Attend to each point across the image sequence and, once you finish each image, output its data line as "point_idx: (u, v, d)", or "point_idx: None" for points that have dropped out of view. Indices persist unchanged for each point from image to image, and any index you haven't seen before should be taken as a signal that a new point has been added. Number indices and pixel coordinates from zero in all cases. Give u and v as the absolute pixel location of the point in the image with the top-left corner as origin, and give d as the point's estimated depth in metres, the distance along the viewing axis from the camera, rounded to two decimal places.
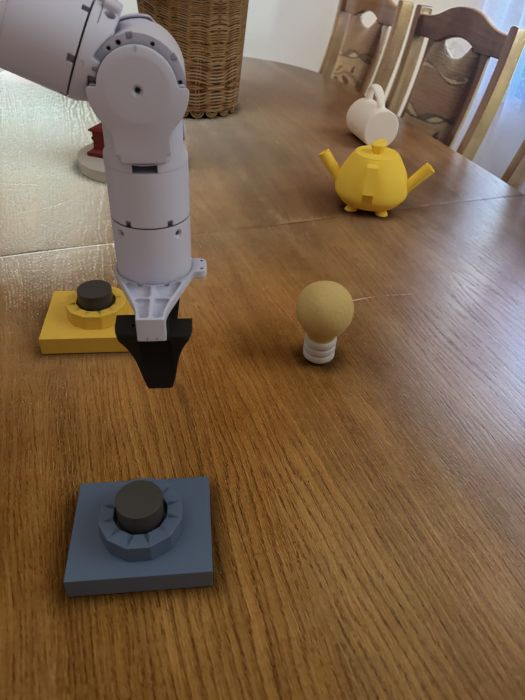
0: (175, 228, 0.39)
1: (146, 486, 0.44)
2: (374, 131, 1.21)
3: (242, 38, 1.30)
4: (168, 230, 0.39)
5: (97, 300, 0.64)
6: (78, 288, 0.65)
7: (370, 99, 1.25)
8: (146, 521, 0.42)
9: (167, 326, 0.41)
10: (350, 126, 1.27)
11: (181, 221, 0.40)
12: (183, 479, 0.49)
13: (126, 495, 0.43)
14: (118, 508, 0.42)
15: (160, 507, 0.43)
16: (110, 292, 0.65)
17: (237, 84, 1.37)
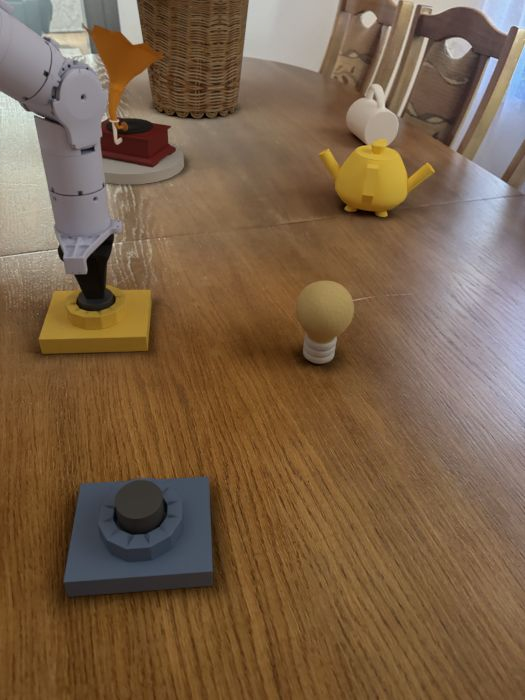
0: (92, 195, 0.56)
1: (146, 486, 0.44)
2: (374, 131, 1.21)
3: (242, 38, 1.30)
4: (87, 196, 0.56)
5: (98, 307, 0.65)
6: (79, 295, 0.66)
7: (370, 99, 1.25)
8: (146, 521, 0.42)
9: None
10: (350, 126, 1.27)
11: (97, 190, 0.56)
12: (183, 479, 0.49)
13: (126, 495, 0.43)
14: (118, 508, 0.42)
15: (160, 507, 0.43)
16: (111, 299, 0.66)
17: (237, 84, 1.37)
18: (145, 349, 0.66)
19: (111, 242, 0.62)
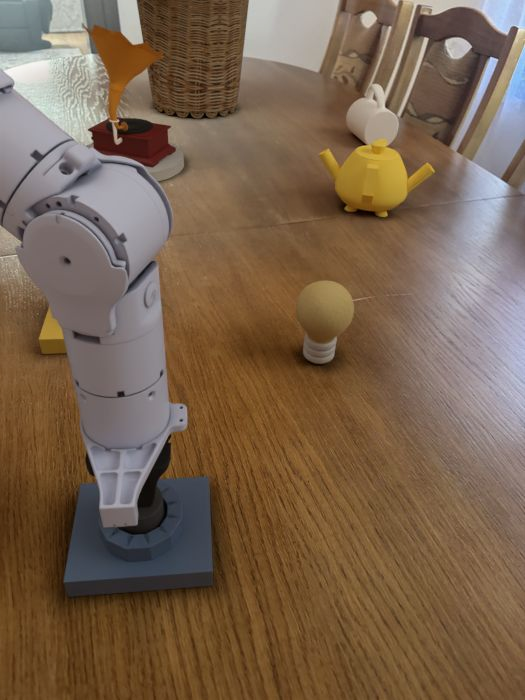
0: (147, 391, 0.33)
1: None
2: (374, 131, 1.21)
3: (242, 38, 1.30)
4: (139, 395, 0.33)
5: None
6: None
7: (370, 99, 1.25)
8: (146, 522, 0.42)
9: None
10: (350, 126, 1.27)
11: (154, 382, 0.34)
12: (183, 479, 0.49)
13: None
14: None
15: (160, 508, 0.43)
16: None
17: (237, 84, 1.37)
18: None
19: (168, 435, 0.39)
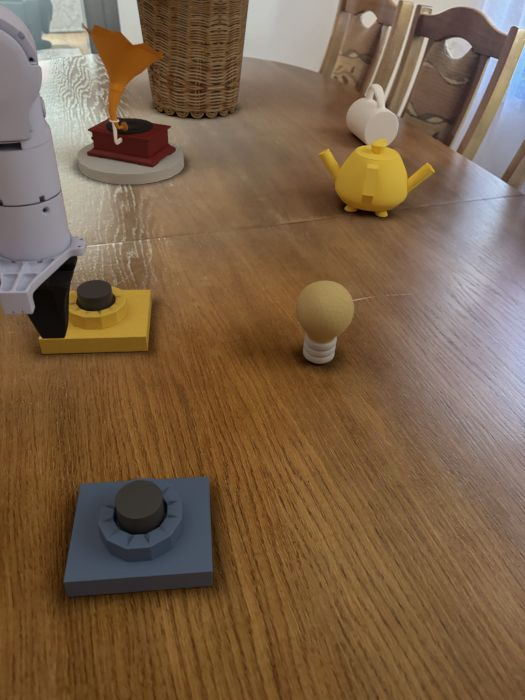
0: (41, 205, 0.41)
1: (146, 486, 0.44)
2: (374, 131, 1.21)
3: (242, 38, 1.30)
4: (33, 207, 0.41)
5: (97, 300, 0.64)
6: (78, 288, 0.65)
7: (370, 99, 1.25)
8: (146, 521, 0.42)
9: (47, 276, 0.45)
10: (350, 126, 1.27)
11: (48, 199, 0.41)
12: (183, 479, 0.49)
13: (126, 495, 0.43)
14: (118, 508, 0.42)
15: (160, 507, 0.43)
16: (110, 292, 0.65)
17: (237, 84, 1.37)
18: (145, 349, 0.66)
19: (72, 266, 0.47)
